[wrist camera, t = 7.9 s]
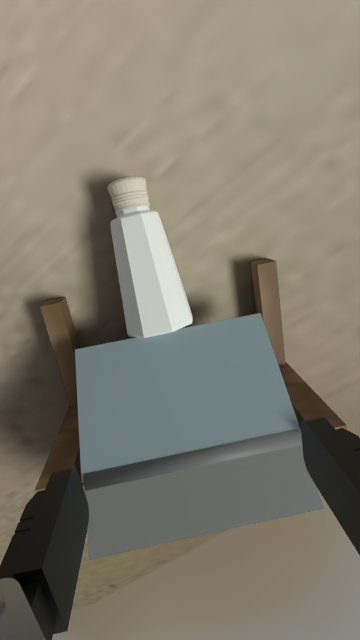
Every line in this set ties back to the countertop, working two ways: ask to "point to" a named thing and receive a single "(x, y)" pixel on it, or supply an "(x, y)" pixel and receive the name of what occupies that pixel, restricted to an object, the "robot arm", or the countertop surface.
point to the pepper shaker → (145, 264)
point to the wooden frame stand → (66, 342)
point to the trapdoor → (187, 436)
